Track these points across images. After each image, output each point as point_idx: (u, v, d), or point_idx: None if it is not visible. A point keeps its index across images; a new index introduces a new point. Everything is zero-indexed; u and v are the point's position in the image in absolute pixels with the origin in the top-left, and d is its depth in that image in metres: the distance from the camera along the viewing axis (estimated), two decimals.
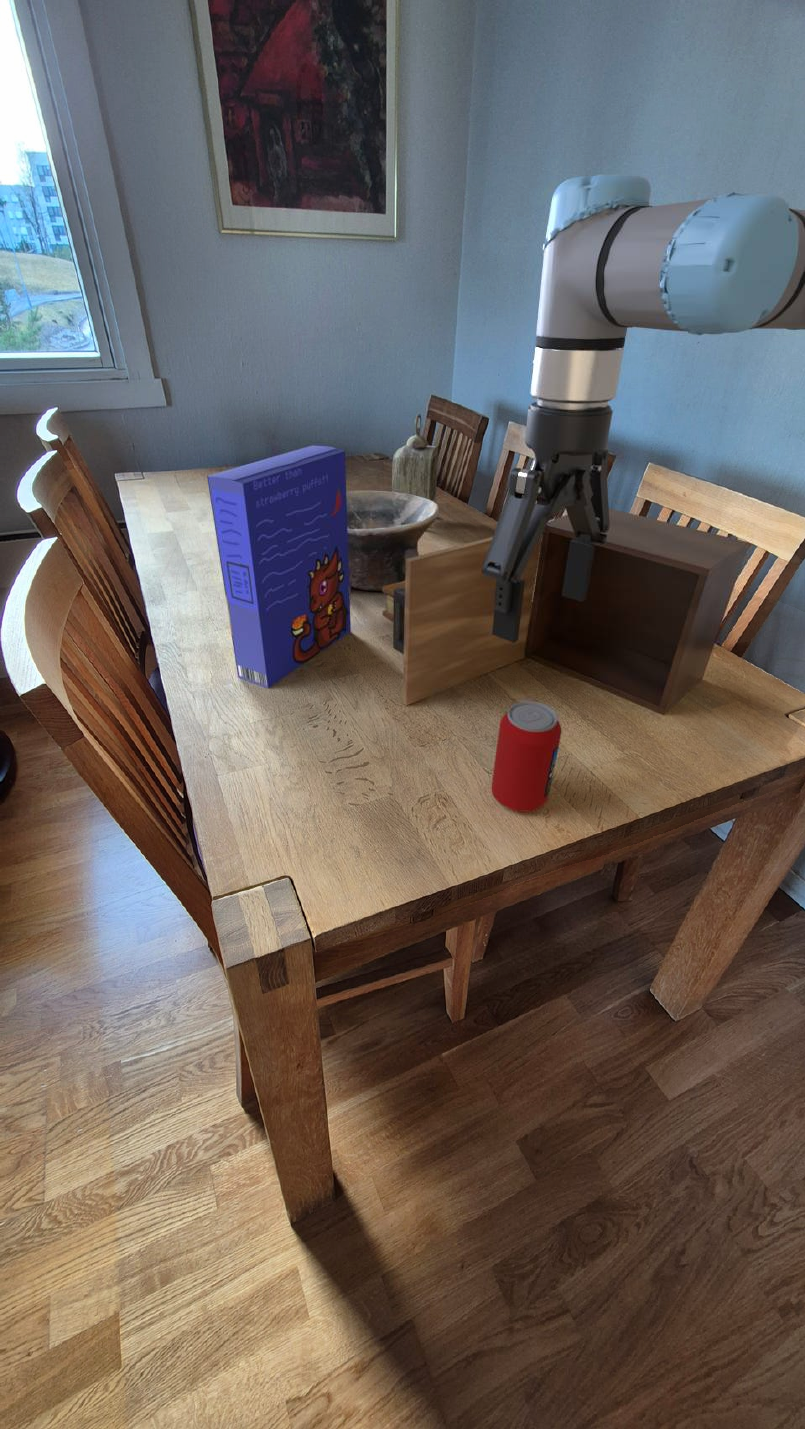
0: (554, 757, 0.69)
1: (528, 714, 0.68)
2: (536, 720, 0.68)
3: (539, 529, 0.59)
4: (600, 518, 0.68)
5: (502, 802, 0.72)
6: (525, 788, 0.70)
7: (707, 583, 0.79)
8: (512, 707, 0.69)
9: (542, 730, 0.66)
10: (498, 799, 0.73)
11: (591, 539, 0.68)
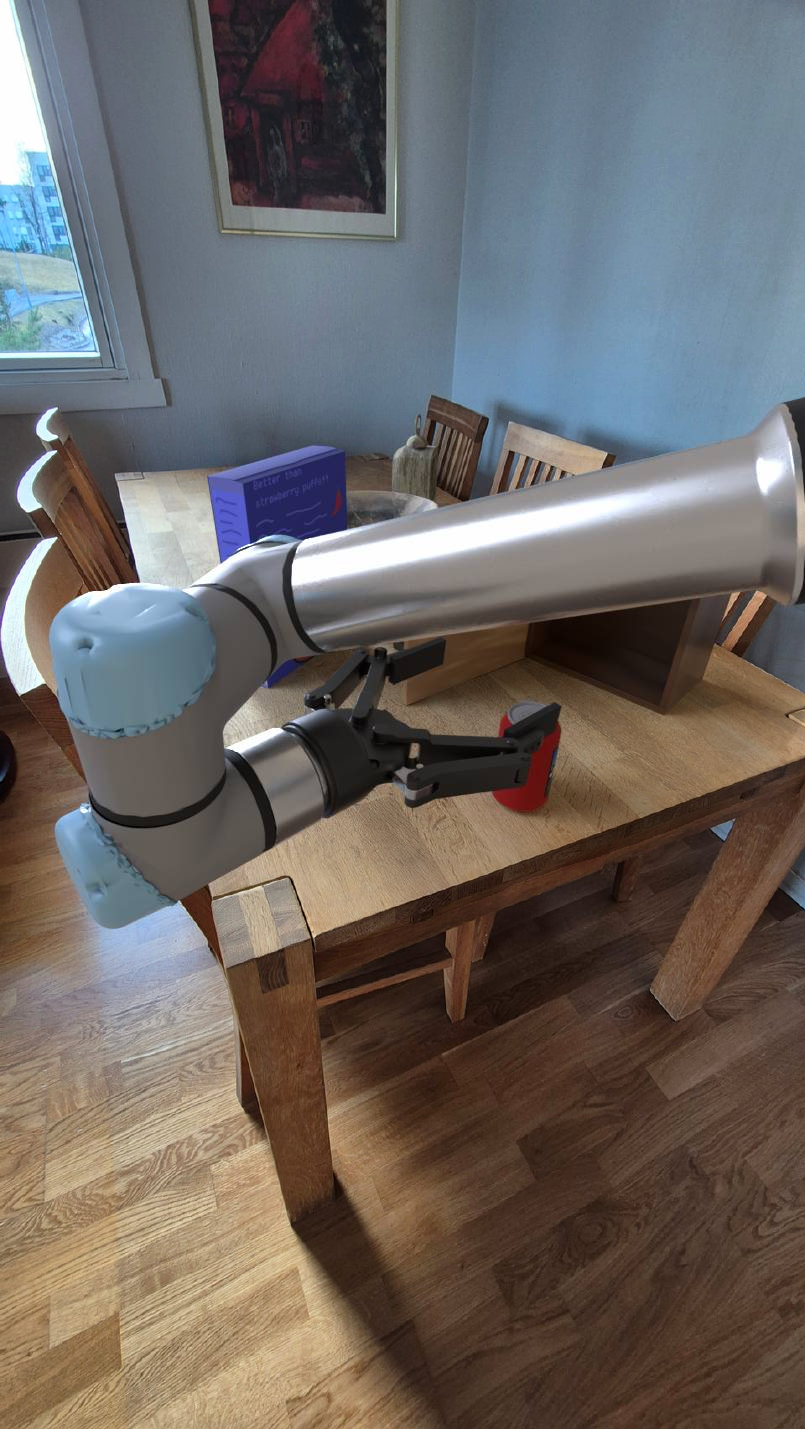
0: (554, 757, 0.69)
1: (528, 714, 0.68)
2: None
3: (448, 741, 0.47)
4: (360, 664, 0.56)
5: (502, 802, 0.72)
6: (525, 788, 0.70)
7: None
8: (512, 707, 0.69)
9: None
10: (498, 799, 0.73)
11: (386, 663, 0.57)
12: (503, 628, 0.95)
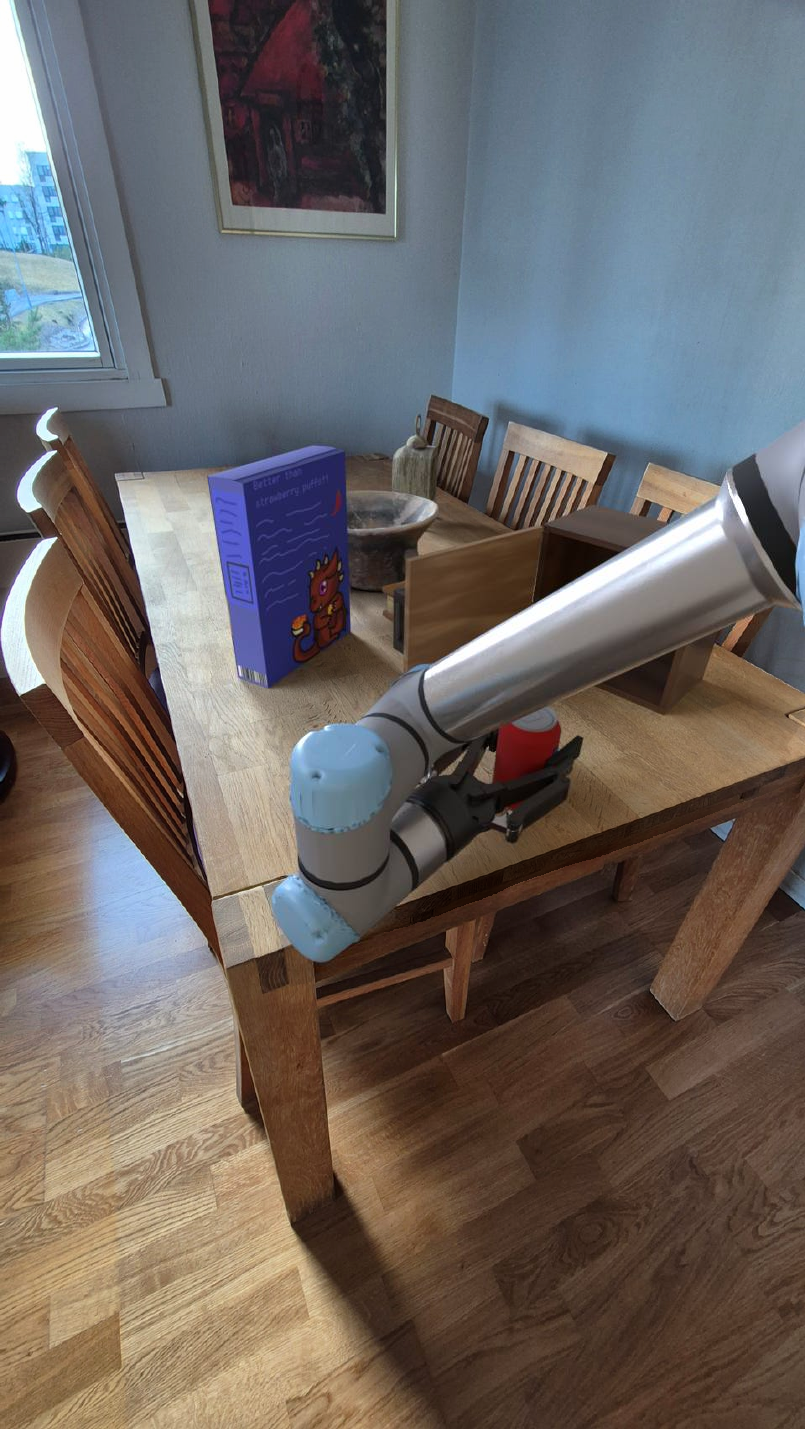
0: None
1: None
2: (536, 720, 0.68)
3: (516, 783, 0.64)
4: None
5: None
6: None
7: None
8: None
9: (542, 730, 0.66)
10: None
11: (486, 738, 0.71)
12: None
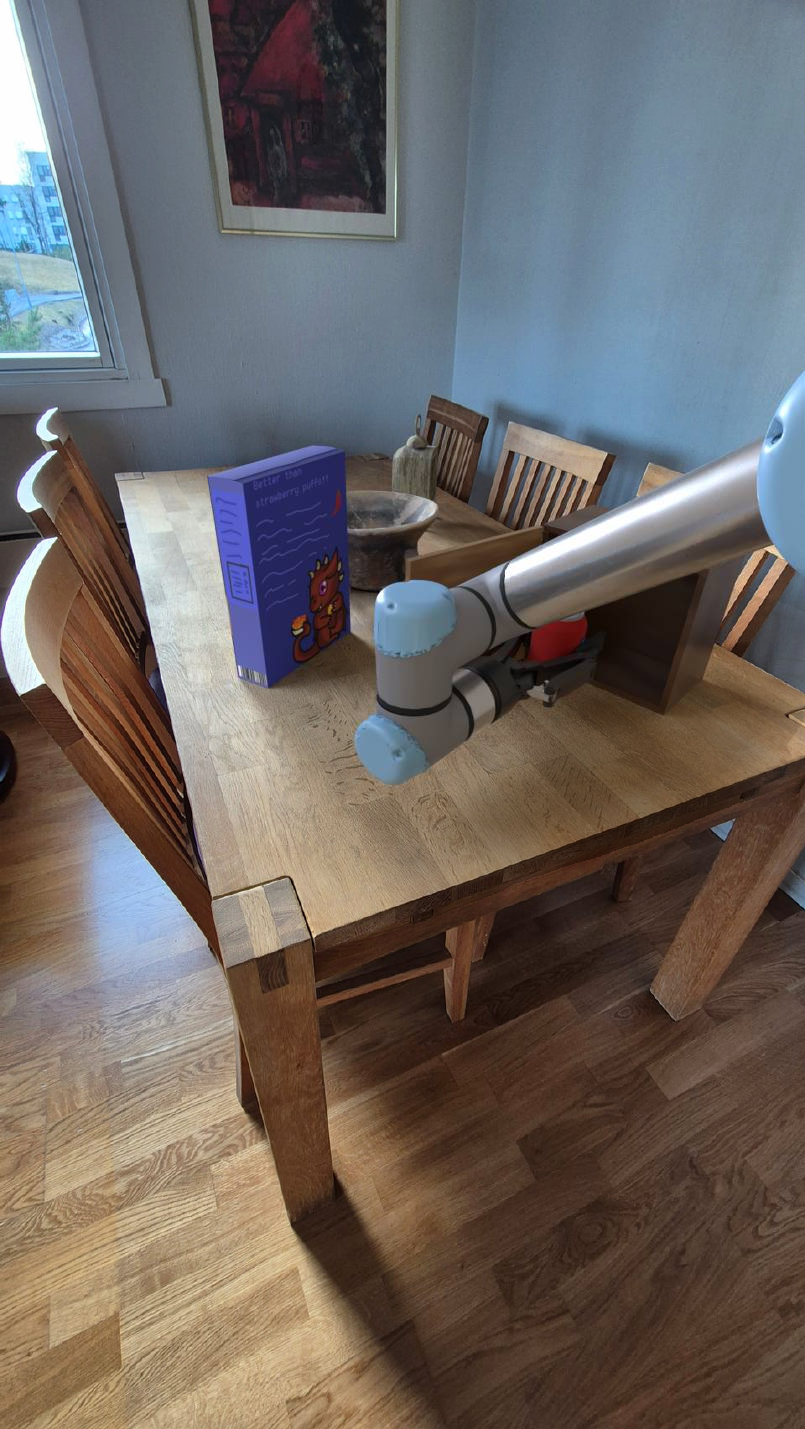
0: None
1: None
2: None
3: (550, 663, 0.75)
4: None
5: None
6: None
7: (707, 583, 0.79)
8: None
9: (571, 620, 0.77)
10: None
11: (522, 633, 0.82)
12: None
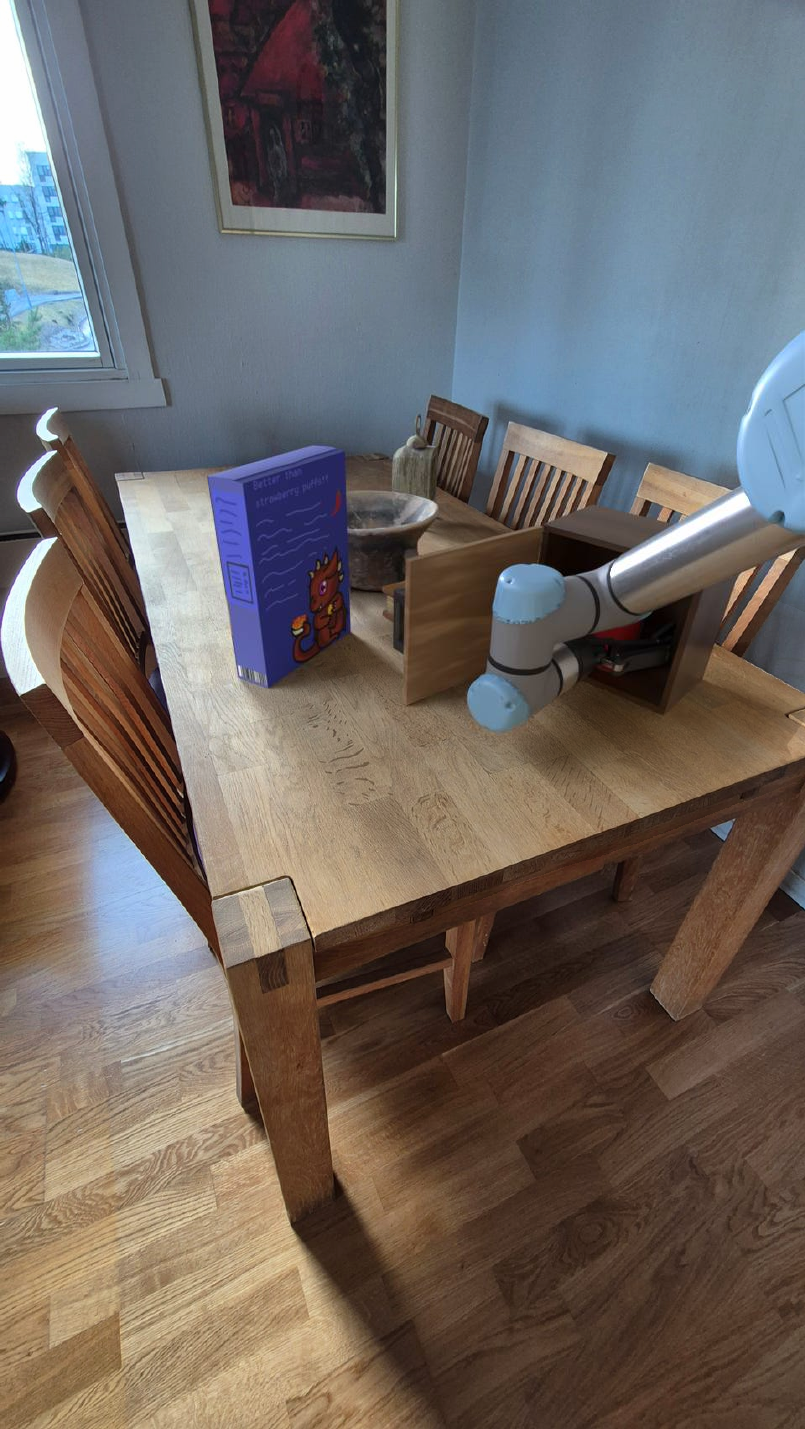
0: (641, 626, 0.93)
1: None
2: None
3: (625, 642, 0.87)
4: None
5: None
6: None
7: None
8: None
9: None
10: None
11: None
12: None
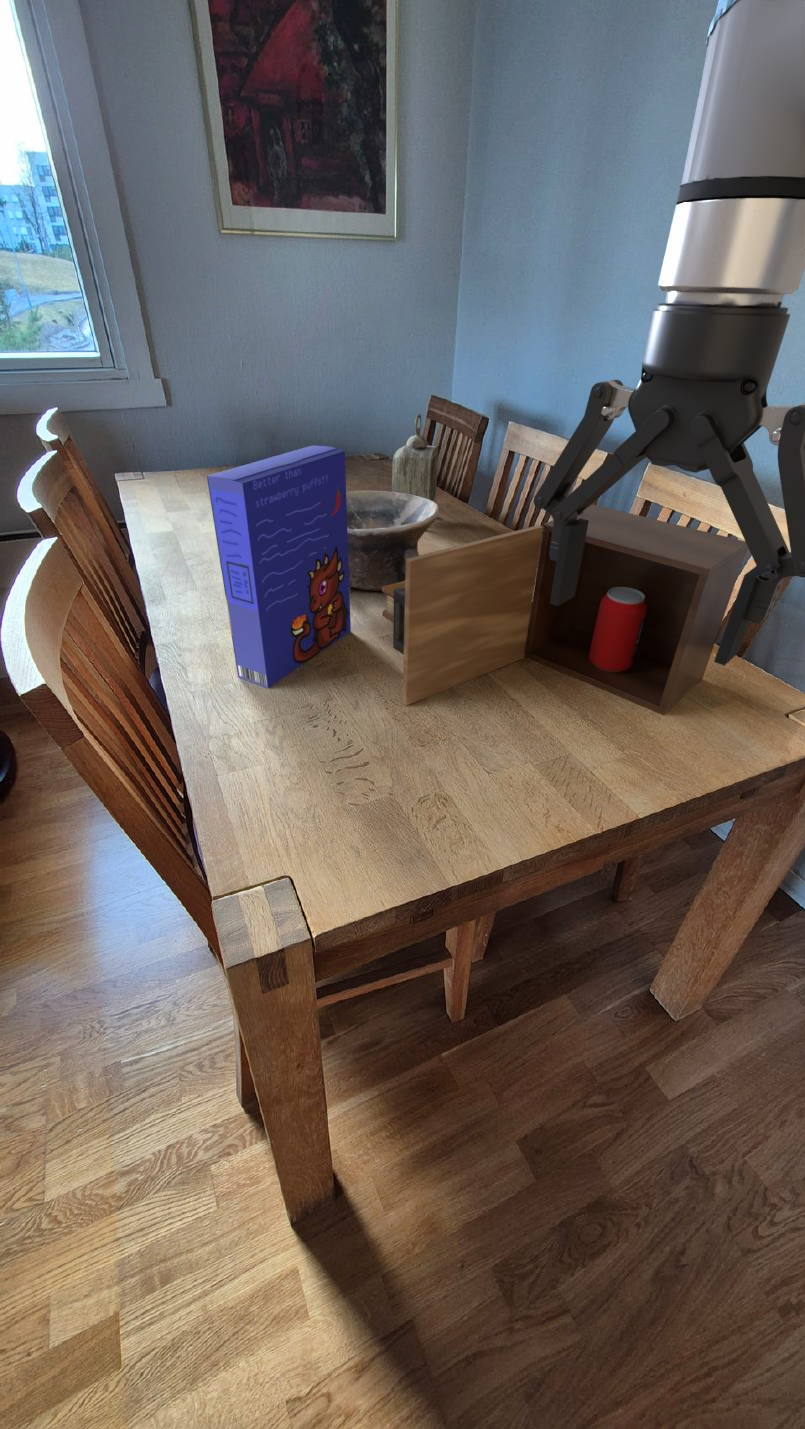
0: (641, 626, 0.93)
1: (622, 594, 0.93)
2: (629, 597, 0.92)
3: (604, 470, 0.44)
4: None
5: (599, 665, 0.97)
6: (619, 650, 0.94)
7: (707, 583, 0.79)
8: (610, 590, 0.94)
9: (635, 603, 0.91)
10: (596, 663, 0.97)
11: None
12: (503, 628, 0.95)
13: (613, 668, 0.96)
